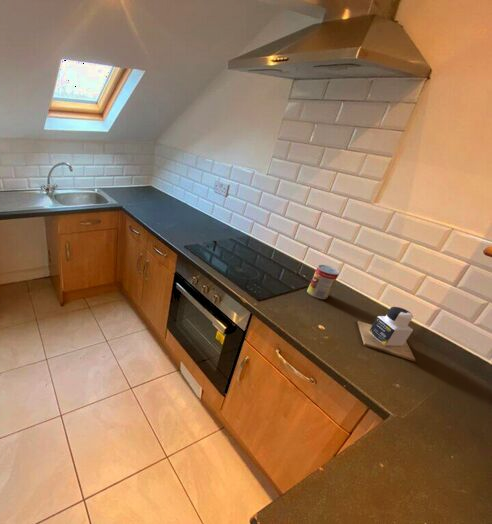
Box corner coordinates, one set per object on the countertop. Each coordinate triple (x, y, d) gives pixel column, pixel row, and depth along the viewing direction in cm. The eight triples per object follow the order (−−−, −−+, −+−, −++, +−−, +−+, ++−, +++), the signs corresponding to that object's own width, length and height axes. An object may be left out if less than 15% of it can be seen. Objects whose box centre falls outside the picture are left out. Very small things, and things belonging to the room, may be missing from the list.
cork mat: (401, 336, 107) (402, 334, 106) (414, 361, 95) (415, 359, 95) (357, 322, 112) (358, 320, 111) (364, 344, 100) (365, 343, 100)
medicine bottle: (367, 331, 106) (384, 303, 100) (385, 332, 107) (402, 304, 101) (384, 346, 99) (402, 317, 94) (402, 346, 100) (422, 317, 95)
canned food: (323, 290, 130) (334, 266, 125) (330, 300, 124) (342, 275, 118) (304, 287, 131) (315, 263, 126) (310, 297, 124) (321, 272, 119)
